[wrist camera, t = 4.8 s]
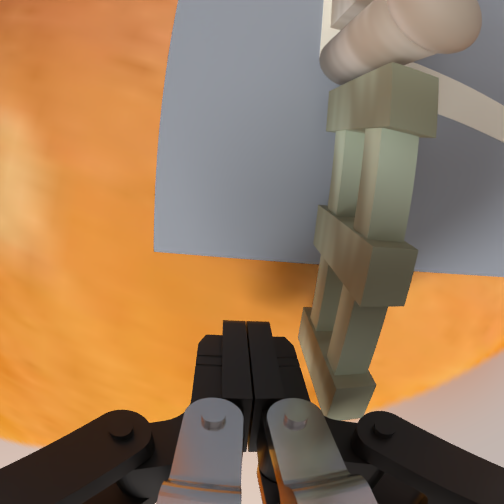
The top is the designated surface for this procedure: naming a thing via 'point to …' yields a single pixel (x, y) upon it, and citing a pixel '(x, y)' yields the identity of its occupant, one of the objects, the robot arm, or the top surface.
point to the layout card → (314, 139)
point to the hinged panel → (364, 229)
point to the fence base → (395, 33)
